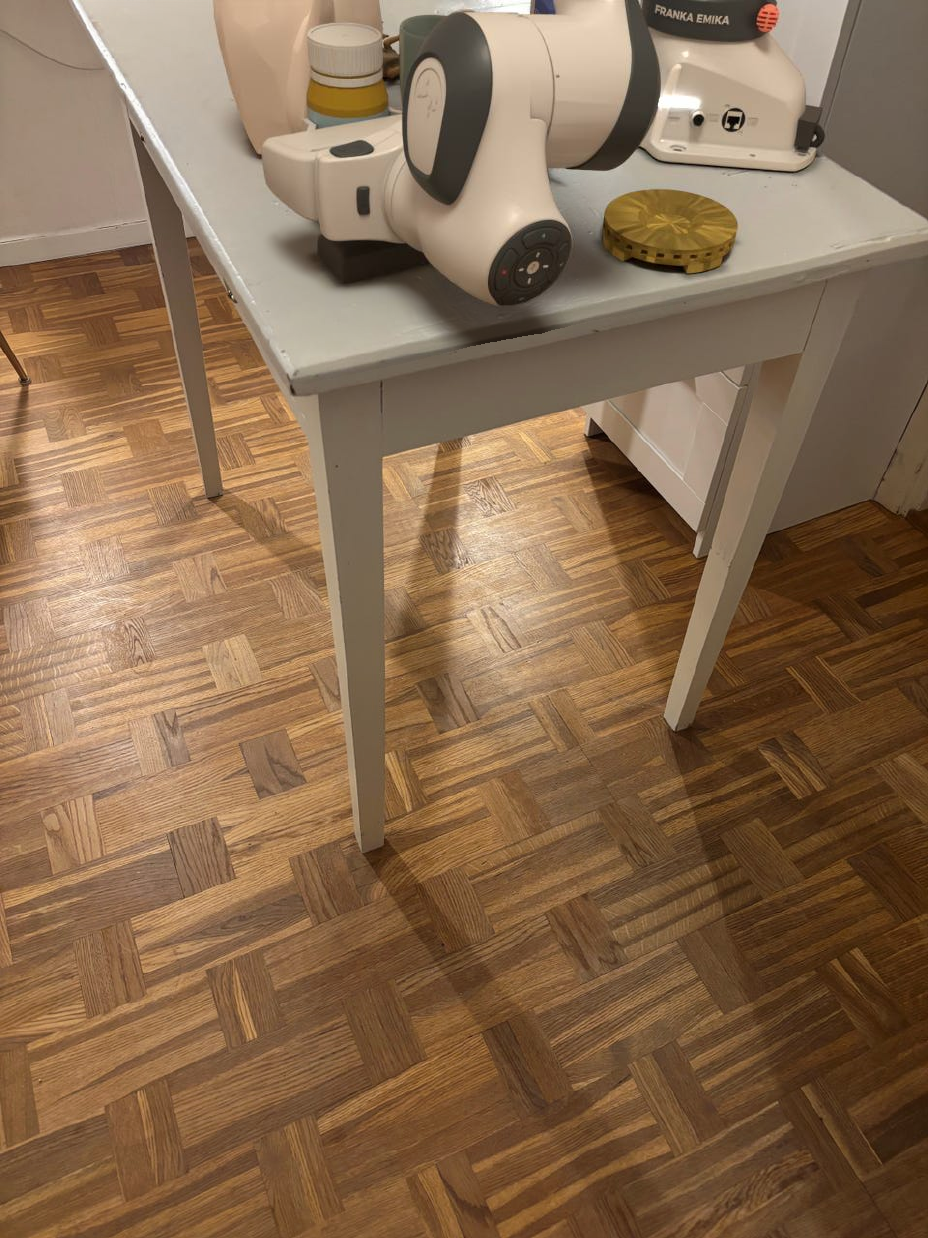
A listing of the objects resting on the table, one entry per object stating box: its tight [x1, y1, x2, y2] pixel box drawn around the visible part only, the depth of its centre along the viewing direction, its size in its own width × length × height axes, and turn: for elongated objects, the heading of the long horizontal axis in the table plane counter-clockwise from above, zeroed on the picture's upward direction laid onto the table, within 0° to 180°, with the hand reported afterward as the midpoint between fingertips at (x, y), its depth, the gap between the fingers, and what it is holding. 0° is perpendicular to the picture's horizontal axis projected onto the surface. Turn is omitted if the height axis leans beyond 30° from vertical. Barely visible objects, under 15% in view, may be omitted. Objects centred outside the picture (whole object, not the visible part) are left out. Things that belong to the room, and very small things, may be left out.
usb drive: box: [316, 233, 431, 284], centre depth 83 cm, size 5×12×3 cm, turn 120°
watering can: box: [212, 0, 384, 156], centre depth 91 cm, size 16×27×19 cm, turn 19°
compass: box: [602, 188, 739, 274], centre depth 87 cm, size 12×12×2 cm
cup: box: [398, 14, 447, 109], centre depth 100 cm, size 8×8×10 cm
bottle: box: [306, 23, 390, 129], centre depth 83 cm, size 7×7×15 cm
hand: (343, 120), depth 83 cm, fingers closed on bottle, 5 cm apart
